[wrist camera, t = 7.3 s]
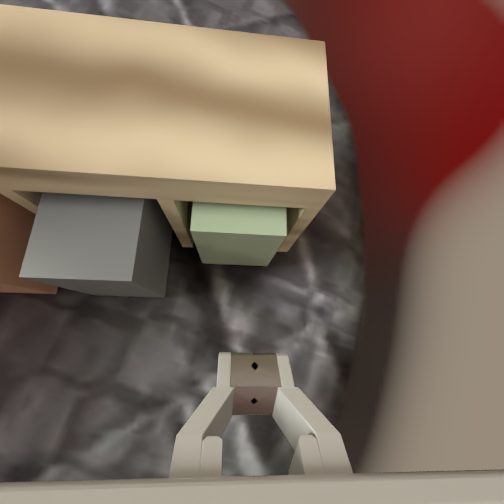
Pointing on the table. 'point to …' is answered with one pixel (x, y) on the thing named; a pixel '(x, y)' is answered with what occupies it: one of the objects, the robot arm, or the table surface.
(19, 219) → the terracotta key
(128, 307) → the table surface
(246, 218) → the sage key
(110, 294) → the slate key
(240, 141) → the key console
